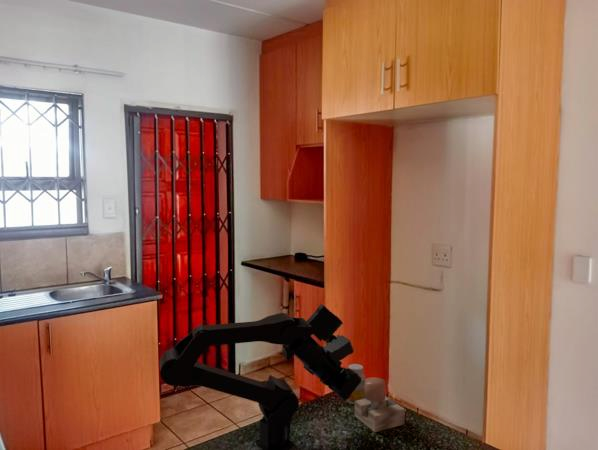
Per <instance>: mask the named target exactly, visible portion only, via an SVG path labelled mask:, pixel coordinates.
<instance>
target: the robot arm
mask: <svg viewBox="0 0 598 450" xmlns="http://www.w3.org/2000/svg"><path fill="white" fill-rule="evenodd" d="M342 325H344V323H343V321H342V320H341V319H340V317H338V316H337V315H336V314H334V313H333V312H331V311H330V310H329V309H328V308H327V307H326V306H325V305H324V304H321V303H320V304H319V306H318V307H317V308H316V309H315V311H314V312H313V313H312V314H311V315H310V316H309V317H308V319H304V318H303V317H293V316H290V315H289V314H288V313H285V312H279V313H275V314H272V315H268V316H265V317H263V318H262V319H258V320H255V321H254V320H253V321H243V322H241V321H240V322H234V323H233V322H232V323H219V324H218V323H217V324H206V325H205V324H198V325H197V326H195V327H193V329H192V330H191V332H189V334H187V335H186V336H184V337H183V338H182V339H180V340H179V341H178V342H177V343H176V344H175V345H174V347H173V348H170V349H168V350H166V351H165V352H163V353H162V354H161V356H160V358H159V373H160V374H159V375H160V378H161V380H162V382H163V383H164V384H165V385H167V386H172V387H180V388H181V387H182V388H188V387H196V386H199V387H203V388H207V389H210V390H212V391H213V390H214V391H216V392H220V393H224V394H228V395H231V396H233V397H238V398H242V399H244V400H248V401H251V402H255V403H257V404H258V407H259V410H260V412H261V414H262V418H260V419H259V438H257V439H256V440H255V444H256V445H258V446H259V447H261V448H262V449H263V450H285V449H287V448H289V447H291V446H293V445H294V441H292V440H291V423H292V420H293V417H294V414H295V413H296V412H297V410H298V409H299V405H300V400H299V397H298V396H297V394H296V393H295V392H294V390H293V388H292V387H291V385H290V384H289V383H288V382H287V381H286V379H285V378H277V377H276V376H274V375H271V374H269V375H268V380H264V381H263V380H262V381H260V380H257V379H254V378H251V377H247V376H244V375H240V374H238V373H233V372H231V371H228V370H225V369H221V368H218V367H214V366H211V365H208V364H205V363H202V362H201V361H200V360H199V359H200V358H201V356H202V354H203V353H204V352H205V351H206V350H207V348H208V347H215V346H223V345H224V346H225V345H234V344H235V345H236V344H244V343H245V344H246V343H253V342H254V343H255V342H264V343H269V344H273V345H282V350H281V355H282V356H283V357H284V358H285V359H286V361H290V360H292V358H293V357H296V358H297V360H299V361H300V362H301V363H302V365H303V368H304V369H305V371H307V372H308V373H309V374H311V375H312V376H315V377H317V378H318V379H319V382H321V383H322V384H323V385H325V386H327V388H328V389H329V390H331V391H332V392H333V393H335V394H336V395H337V396H339V398H341V399H342V400H343V401H346V400H347V399H348V398H349V397H350V395H351V394H352V393H353V391H354V390H355V389H356V387H357V386H358V385H359V384H360V382H361V377H360V376H359V375H358V374H357V373H355V372H354V371H352V370H351V369H349V367H348V368H347V367H344V366H343V367H342V365H343V362H341V361H342V360H344V359H345V358H346V357H348V356H349V355H352V354H353V353H354V352H355V350H354V347H353V344H352V343H351V340H350V339H349V338H348V337H346V336H344V335H340V334H337V335H334V334H335V333H336V332H337V331H338V330H339V328H341V326H342ZM312 336H314V337H316V338H317V340H318V341H319V342H322V341H323V342H325V343H324V344H325V345H324V346H323V345H321V344H320V343H318V341H316V340H315V338H313V337H312Z"/></svg>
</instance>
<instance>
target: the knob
mask: <svg viewBox="0 0 598 450" xmlns="http://www.w3.org/2000/svg"><path fill="white" fill-rule="evenodd" d="M386 384H387V382H386V380H384V379H383V378H380V377H374V376H373V377H367V378H365V399H367V400H370V401H371V407H367V415H368V411H371V410H376V409H380V407H379V402H380V401H383V400H385V396H386V390H387V389H386Z"/></svg>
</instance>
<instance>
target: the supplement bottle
mask: <svg viewBox="0 0 598 450" xmlns="http://www.w3.org/2000/svg"><path fill="white" fill-rule="evenodd" d="M348 368H349V369H351V370H352V371H354V372H355V373H357V374H358V375H359V376H360V377H361V382H360V384H359V385H358V386H357V387H356V389H355V390H354V391H353V393H352V394H351V395H350V397H349V398H348V399H347V400H345V401H346V402H347V403H348V404H351V405H355V401H357V400H361V399H366V398H365V380H366V376H365V375H366V374H364V366H363V365H361V364H358V363H352V364H349V365H348Z"/></svg>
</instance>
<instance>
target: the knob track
mask: <svg viewBox="0 0 598 450" xmlns="http://www.w3.org/2000/svg"><path fill="white" fill-rule="evenodd" d="M367 407H371V401H370V400H367V399H366V398H365V399H361V400H357V401H355V404H354V417H355V418H356V419H357V420H359V421H360V422H362V423H363V424H364V425H365V426H366V427H367V428H369V429H370V430H371V431H373V433H377V432H382V431H385V430H389V429H392V428H395V427H400V426H403V425H405V420H406V419H405V415H406V412H405V411H406V409H405V408H404V407H403V406H402V405H399V404H398V403H397V402H395V401H394V400H392V399H391V398H389V397H388V396H386V395H385V400H383V401H380V402H379V407H380V409H376V410H371V411H368V415H367Z"/></svg>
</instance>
